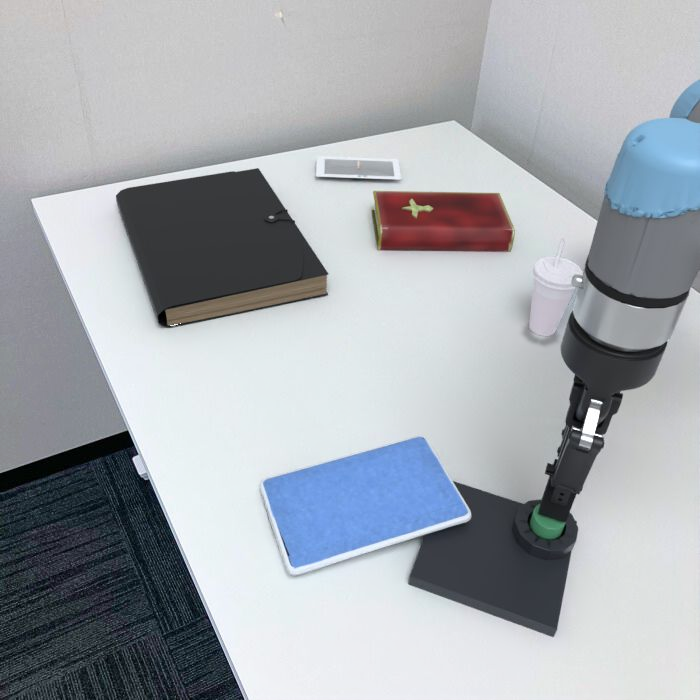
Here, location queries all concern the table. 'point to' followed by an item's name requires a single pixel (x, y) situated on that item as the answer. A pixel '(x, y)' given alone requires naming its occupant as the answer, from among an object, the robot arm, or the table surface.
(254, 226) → the black photo album
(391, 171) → the white picture frame
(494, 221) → the hardcover book
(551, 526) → the button
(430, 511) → the tablet
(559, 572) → the black button base
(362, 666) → the table surface
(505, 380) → the table surface
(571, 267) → the smoothie
